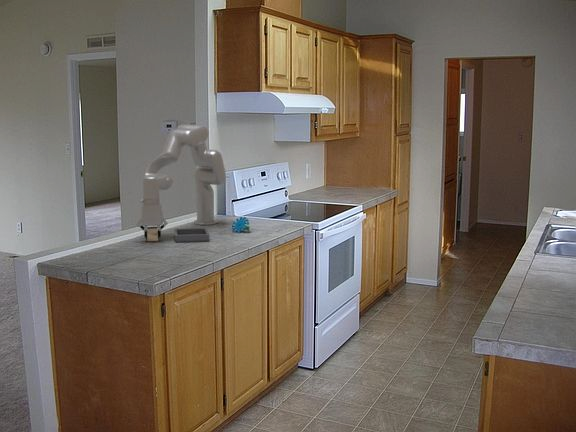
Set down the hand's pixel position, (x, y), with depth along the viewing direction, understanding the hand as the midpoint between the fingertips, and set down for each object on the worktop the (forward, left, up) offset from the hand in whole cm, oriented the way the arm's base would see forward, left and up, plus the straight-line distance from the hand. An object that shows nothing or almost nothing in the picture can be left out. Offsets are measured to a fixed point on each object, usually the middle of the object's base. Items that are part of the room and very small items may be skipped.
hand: (152, 238), depth 301 cm
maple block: (0, 0, -1) cm, 1 cm away
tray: (-3, +19, -1) cm, 19 cm away
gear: (-16, +45, -2) cm, 48 cm away
